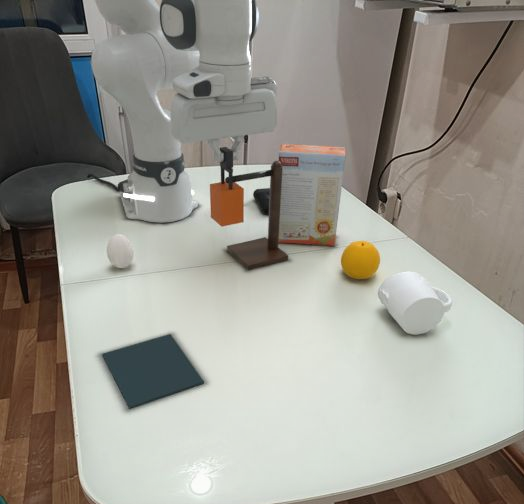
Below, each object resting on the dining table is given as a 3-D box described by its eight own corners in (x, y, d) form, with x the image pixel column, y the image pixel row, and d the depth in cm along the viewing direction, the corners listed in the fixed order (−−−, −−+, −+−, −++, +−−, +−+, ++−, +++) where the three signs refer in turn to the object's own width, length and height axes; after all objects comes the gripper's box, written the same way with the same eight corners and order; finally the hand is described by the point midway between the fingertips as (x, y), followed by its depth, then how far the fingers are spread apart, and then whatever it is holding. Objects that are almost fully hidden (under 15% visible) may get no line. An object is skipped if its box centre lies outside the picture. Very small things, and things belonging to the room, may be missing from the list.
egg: (111, 275, 105) (106, 242, 100) (107, 263, 108) (102, 231, 104) (137, 271, 106) (133, 238, 102) (132, 259, 110) (128, 227, 105)
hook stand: (216, 253, 114) (213, 161, 101) (266, 241, 119) (269, 152, 106) (237, 273, 107) (237, 177, 94) (288, 260, 112) (295, 167, 100)
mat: (102, 355, 84) (102, 353, 84) (170, 335, 89) (170, 333, 89) (129, 408, 75) (129, 406, 75) (204, 383, 80) (204, 381, 80)
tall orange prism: (210, 217, 105) (208, 147, 96) (232, 213, 107) (232, 144, 98) (221, 226, 102) (220, 155, 93) (243, 222, 104) (244, 151, 95)
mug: (392, 337, 91) (401, 299, 86) (374, 308, 98) (381, 271, 93) (454, 331, 93) (466, 294, 88) (431, 303, 100) (442, 267, 95)
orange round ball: (384, 275, 108) (390, 243, 104) (363, 288, 104) (369, 255, 99) (353, 261, 112) (358, 230, 108) (331, 274, 108) (336, 242, 103)
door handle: (342, 206, 130) (320, 180, 142) (267, 213, 126) (251, 185, 137) (340, 218, 132) (319, 192, 144) (266, 225, 128) (250, 197, 139)
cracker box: (334, 235, 122) (345, 145, 109) (334, 247, 118) (346, 154, 105) (276, 231, 123) (280, 141, 110) (274, 242, 118) (278, 150, 105)
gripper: (267, 72, 95) (265, 149, 103) (163, 80, 86) (170, 162, 95) (285, 79, 90) (281, 158, 99) (178, 88, 82) (183, 173, 91)
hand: (226, 160), depth 97 cm, fingers closed on tall orange prism
